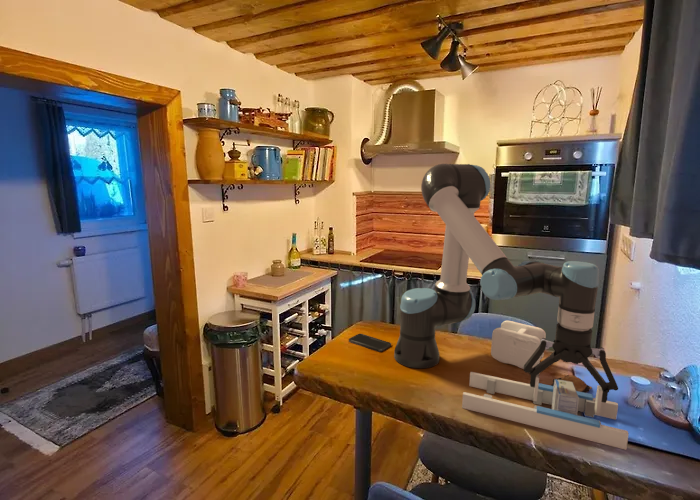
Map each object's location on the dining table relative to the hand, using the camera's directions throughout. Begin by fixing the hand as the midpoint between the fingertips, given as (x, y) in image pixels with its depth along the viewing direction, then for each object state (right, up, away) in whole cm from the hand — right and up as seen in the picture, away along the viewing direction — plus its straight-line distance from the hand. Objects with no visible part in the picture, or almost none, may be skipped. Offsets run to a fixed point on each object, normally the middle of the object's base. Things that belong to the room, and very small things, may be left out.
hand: (565, 405), depth 96 cm
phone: (-47, +4, +45) cm, 65 cm away
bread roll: (+11, -2, +16) cm, 19 cm away
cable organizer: (+2, +2, +32) cm, 32 cm away
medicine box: (0, -4, +1) cm, 4 cm away
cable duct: (-5, -3, +3) cm, 7 cm away
